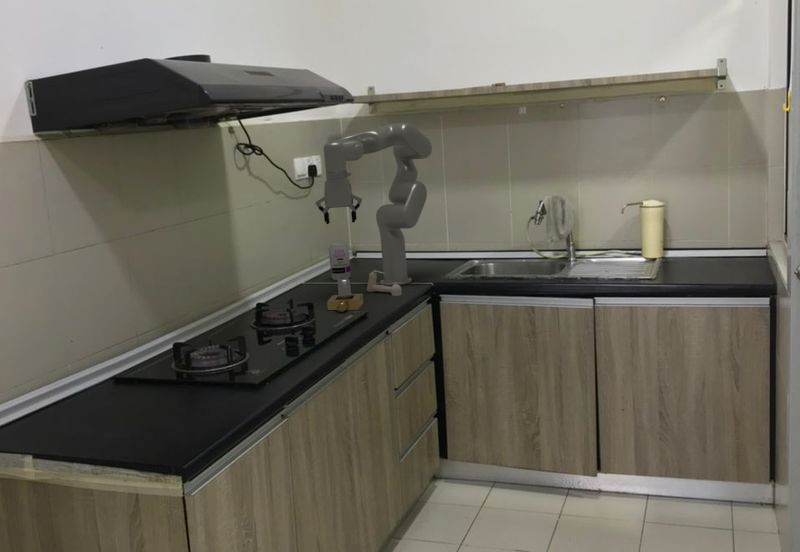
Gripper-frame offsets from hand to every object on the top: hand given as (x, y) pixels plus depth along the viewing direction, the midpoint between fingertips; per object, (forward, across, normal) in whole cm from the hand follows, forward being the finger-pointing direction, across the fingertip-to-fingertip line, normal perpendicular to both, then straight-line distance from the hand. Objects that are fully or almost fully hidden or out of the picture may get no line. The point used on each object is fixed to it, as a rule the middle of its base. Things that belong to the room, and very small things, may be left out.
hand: (340, 222), depth 315 cm
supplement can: (+28, +9, -41) cm, 51 cm away
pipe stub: (+28, -2, +17) cm, 33 cm away
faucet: (+29, -13, -5) cm, 32 cm away
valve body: (+28, -2, +17) cm, 33 cm away
